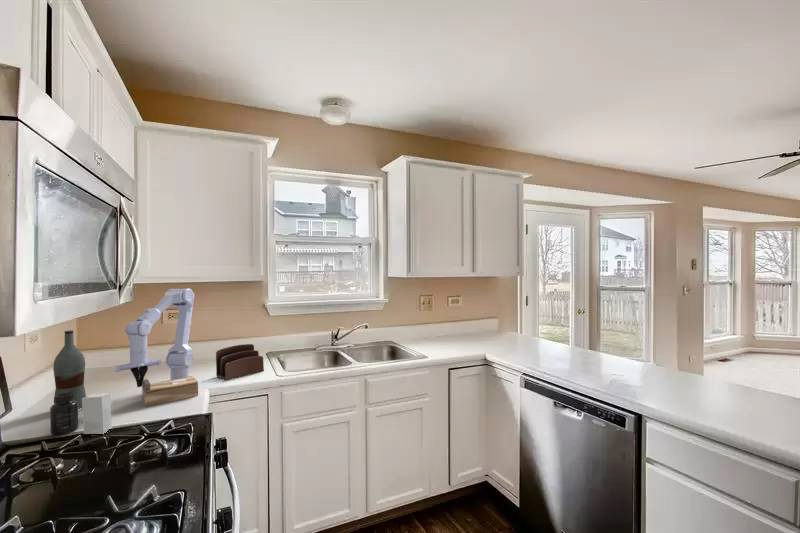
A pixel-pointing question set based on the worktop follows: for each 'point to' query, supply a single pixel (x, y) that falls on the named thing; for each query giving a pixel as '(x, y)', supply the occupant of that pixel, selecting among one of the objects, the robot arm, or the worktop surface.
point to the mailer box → (169, 394)
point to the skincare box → (96, 413)
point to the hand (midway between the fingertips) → (139, 386)
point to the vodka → (70, 370)
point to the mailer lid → (167, 384)
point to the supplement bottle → (64, 414)
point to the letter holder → (238, 361)
